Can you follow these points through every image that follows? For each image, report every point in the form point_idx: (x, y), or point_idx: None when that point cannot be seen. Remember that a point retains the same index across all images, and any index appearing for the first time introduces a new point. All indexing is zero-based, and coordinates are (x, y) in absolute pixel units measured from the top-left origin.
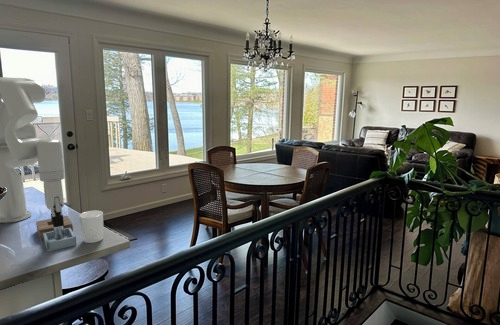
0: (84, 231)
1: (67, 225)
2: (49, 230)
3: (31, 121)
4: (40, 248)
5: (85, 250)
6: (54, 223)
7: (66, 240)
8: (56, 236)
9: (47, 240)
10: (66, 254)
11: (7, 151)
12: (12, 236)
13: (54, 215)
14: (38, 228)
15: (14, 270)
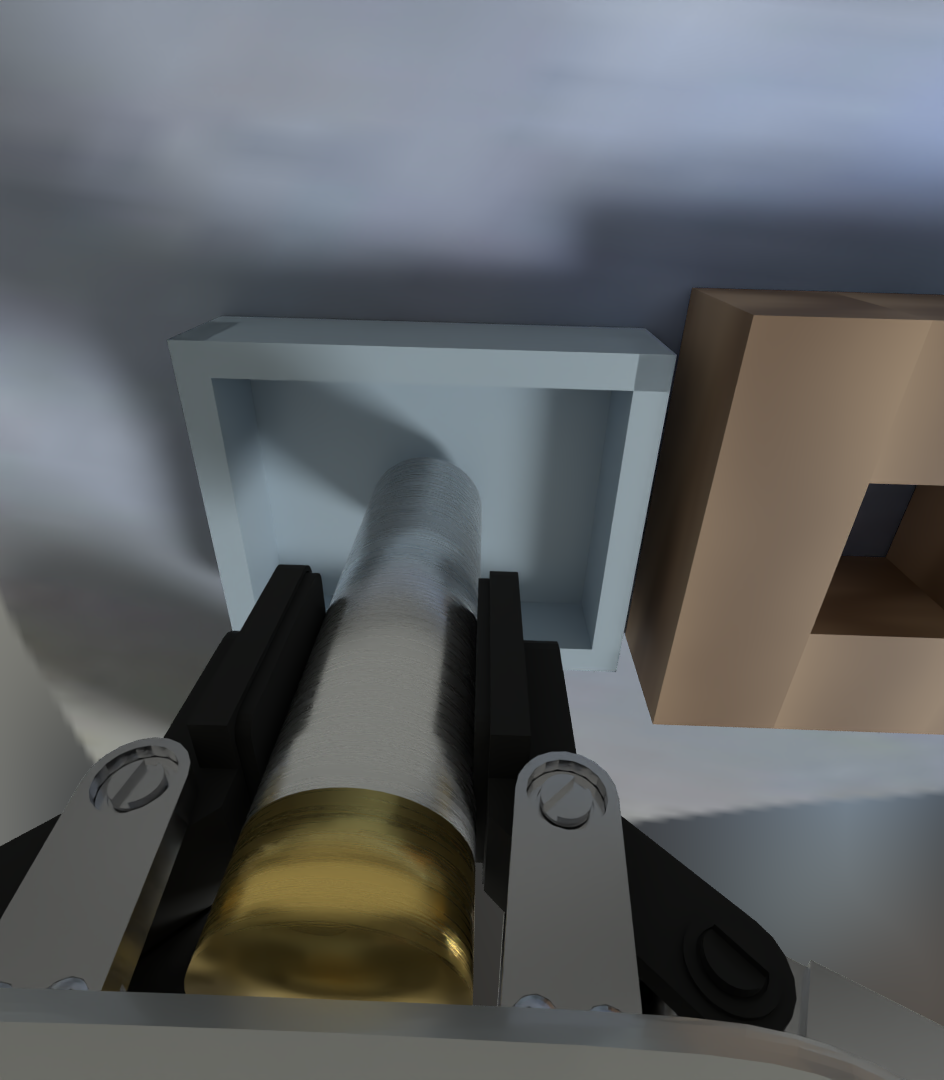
0: None
1: (659, 669)
2: (704, 455)
3: None
4: (389, 247)
5: (92, 628)
6: (263, 620)
7: (225, 562)
8: (378, 495)
9: (293, 368)
10: (54, 478)
11: None
12: None
13: (93, 797)
14: (867, 318)
15: None
